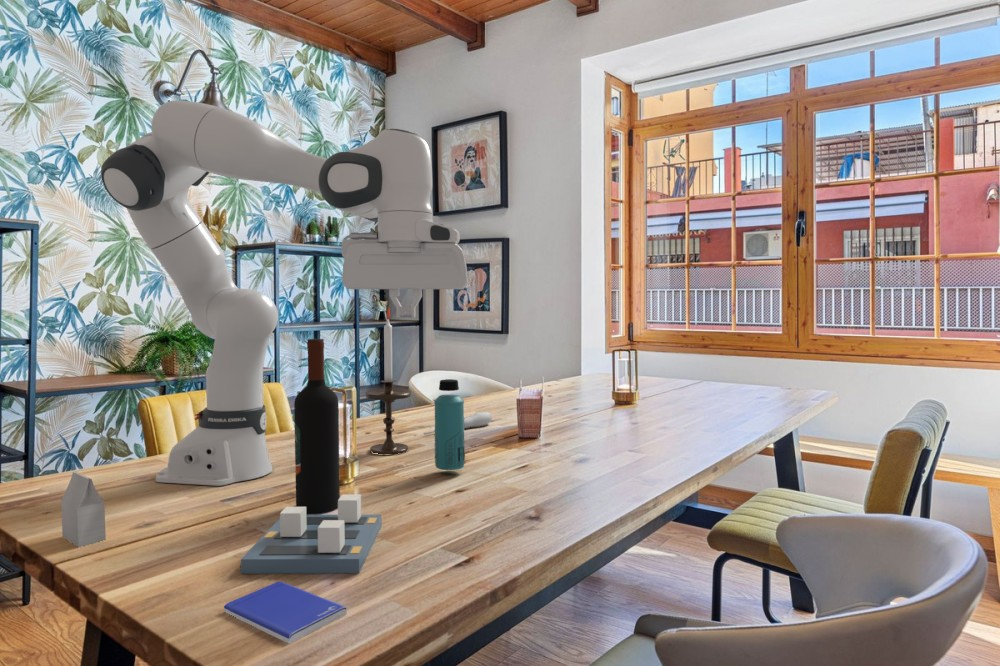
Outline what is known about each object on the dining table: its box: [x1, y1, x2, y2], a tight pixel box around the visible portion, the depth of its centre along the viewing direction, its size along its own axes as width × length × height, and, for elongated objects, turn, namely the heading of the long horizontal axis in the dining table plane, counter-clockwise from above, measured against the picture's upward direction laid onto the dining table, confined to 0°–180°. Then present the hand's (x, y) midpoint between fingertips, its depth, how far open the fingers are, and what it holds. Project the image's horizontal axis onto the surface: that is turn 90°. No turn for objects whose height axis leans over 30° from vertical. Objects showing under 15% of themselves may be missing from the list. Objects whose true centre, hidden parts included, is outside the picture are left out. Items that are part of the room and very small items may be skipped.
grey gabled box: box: [60, 471, 107, 548], centre depth 101 cm, size 4×7×10 cm, turn 51°
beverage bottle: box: [433, 378, 466, 471], centre depth 139 cm, size 6×7×20 cm
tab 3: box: [337, 493, 362, 522], centre depth 104 cm, size 3×3×4 cm
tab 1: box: [279, 506, 307, 537], centre depth 98 cm, size 3×3×4 cm
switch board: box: [240, 514, 383, 575], centre depth 98 cm, size 16×18×2 cm
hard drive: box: [223, 581, 348, 645], centre depth 78 cm, size 2×8×12 cm
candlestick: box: [365, 306, 412, 455], centre depth 158 cm, size 11×11×35 cm
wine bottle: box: [293, 338, 341, 515], centre depth 116 cm, size 8×8×30 cm
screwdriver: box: [422, 411, 493, 435], centre depth 183 cm, size 5×25×4 cm, turn 134°
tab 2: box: [318, 520, 345, 553], centre depth 92 cm, size 3×3×4 cm
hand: (406, 317), depth 107 cm, fingers closed
